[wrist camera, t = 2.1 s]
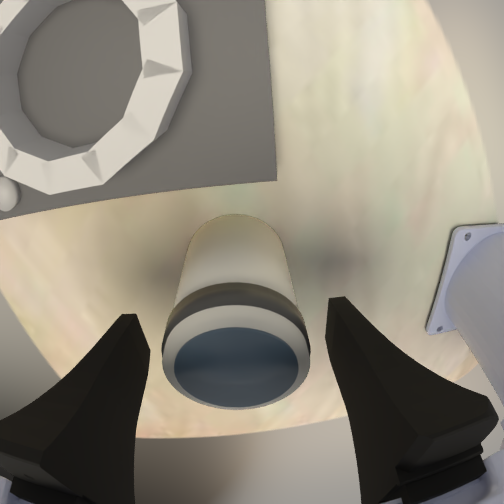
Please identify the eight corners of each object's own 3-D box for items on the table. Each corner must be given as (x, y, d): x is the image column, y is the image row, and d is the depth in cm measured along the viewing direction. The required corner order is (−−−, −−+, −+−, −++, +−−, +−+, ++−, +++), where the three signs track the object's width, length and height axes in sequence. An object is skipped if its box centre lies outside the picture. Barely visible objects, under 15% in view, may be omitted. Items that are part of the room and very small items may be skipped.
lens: (285, 208, 15) (318, 309, 9) (286, 295, 17) (309, 407, 11) (176, 217, 15) (138, 322, 9) (194, 302, 17) (178, 415, 11)
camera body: (252, -65, 8) (258, -108, 5) (271, 167, 14) (283, 199, 10) (-18, 20, 8) (-68, 19, 5) (11, 206, 14) (-32, 241, 10)
